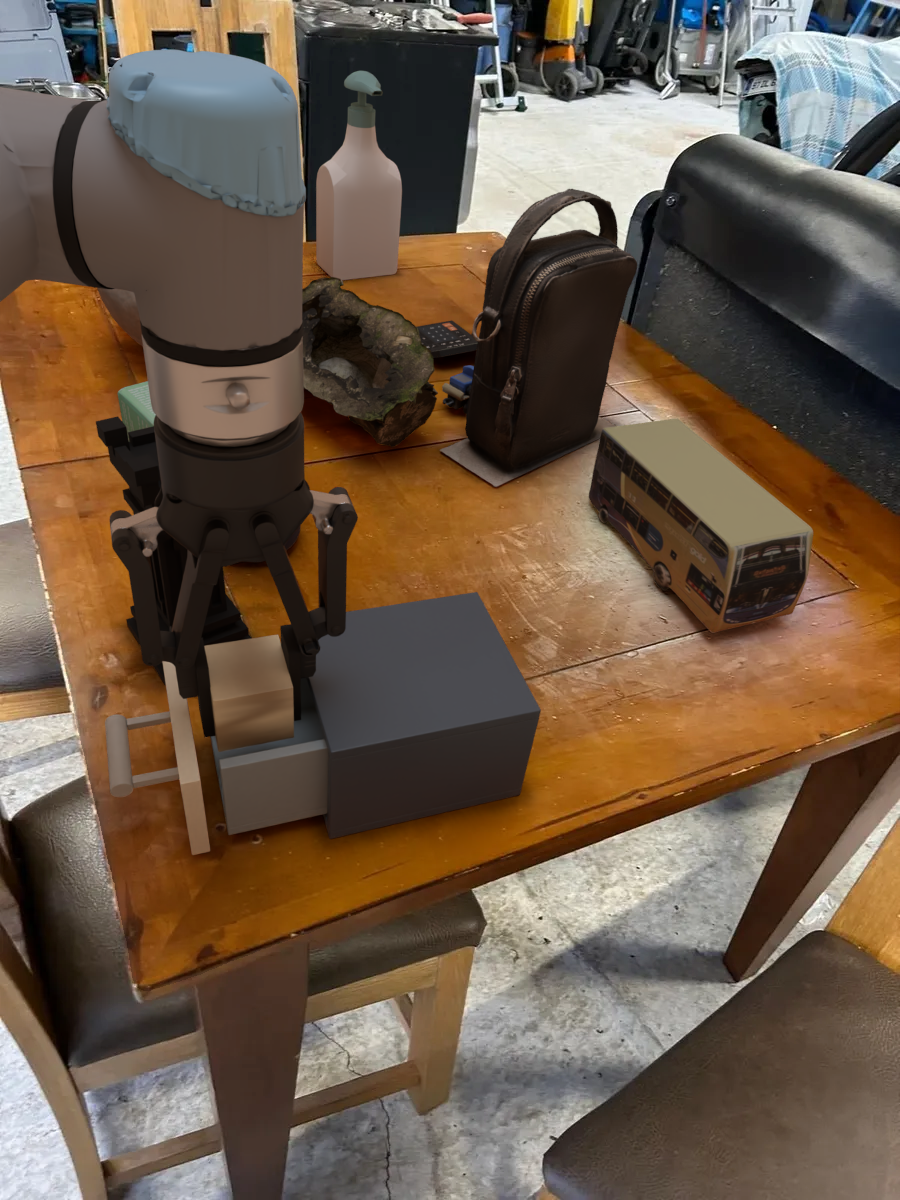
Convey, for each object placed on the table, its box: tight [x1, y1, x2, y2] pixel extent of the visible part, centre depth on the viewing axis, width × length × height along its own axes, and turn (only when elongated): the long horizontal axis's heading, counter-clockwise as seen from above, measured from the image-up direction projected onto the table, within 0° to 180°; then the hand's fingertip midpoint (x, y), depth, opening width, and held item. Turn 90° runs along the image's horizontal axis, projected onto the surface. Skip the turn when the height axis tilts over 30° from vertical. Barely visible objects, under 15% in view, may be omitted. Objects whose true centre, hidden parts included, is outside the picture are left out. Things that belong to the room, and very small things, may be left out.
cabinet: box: [306, 591, 542, 840], centre depth 65 cm, size 15×13×10 cm
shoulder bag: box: [439, 188, 638, 488], centre depth 96 cm, size 23×9×28 cm, turn 134°
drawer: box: [104, 661, 328, 856], centre depth 62 cm, size 18×11×8 cm, turn 109°
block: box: [204, 634, 294, 752], centre depth 59 cm, size 5×5×5 cm
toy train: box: [441, 364, 474, 415], centre depth 113 cm, size 4×22×5 cm, turn 136°
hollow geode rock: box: [302, 276, 439, 448], centre depth 103 cm, size 28×13×15 cm
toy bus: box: [588, 418, 814, 634], centre depth 87 cm, size 10×23×10 cm, turn 22°
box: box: [117, 380, 156, 440], centre depth 92 cm, size 7×14×8 cm, turn 40°
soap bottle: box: [315, 70, 403, 281], centre depth 130 cm, size 11×8×27 cm
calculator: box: [416, 319, 478, 359], centre depth 121 cm, size 9×12×3 cm
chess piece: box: [95, 416, 253, 686], centre depth 69 cm, size 8×8×20 cm
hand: (250, 713), depth 60 cm, fingers closed on block, 5 cm apart
